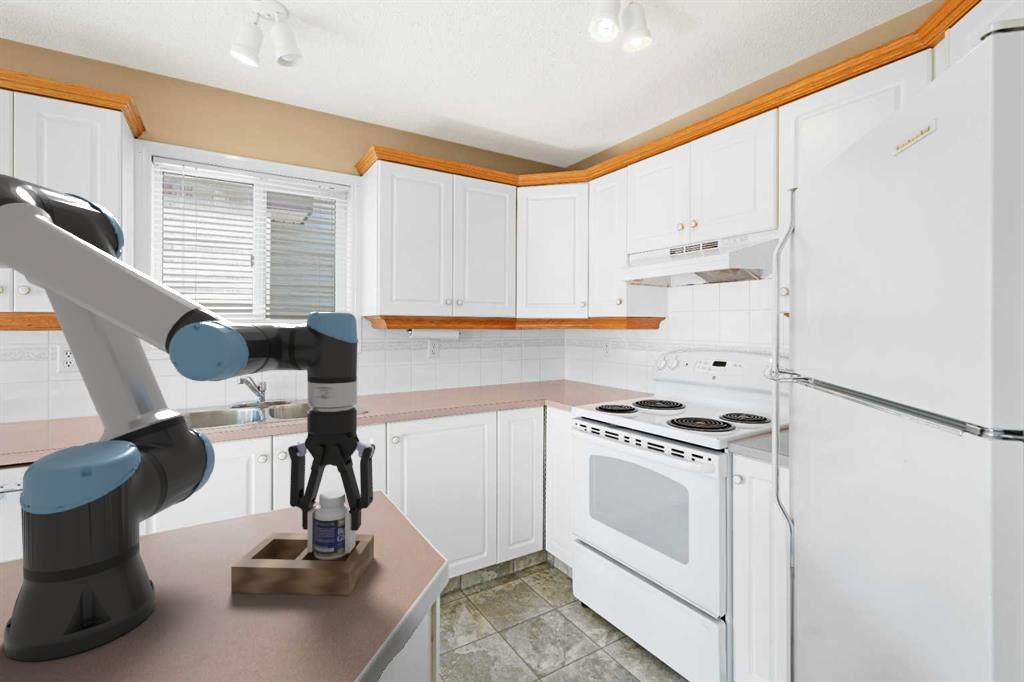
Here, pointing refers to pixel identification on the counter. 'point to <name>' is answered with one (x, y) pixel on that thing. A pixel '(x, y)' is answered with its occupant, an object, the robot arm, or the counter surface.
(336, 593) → the socket board
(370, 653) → the counter surface
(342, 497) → the pill bottle
